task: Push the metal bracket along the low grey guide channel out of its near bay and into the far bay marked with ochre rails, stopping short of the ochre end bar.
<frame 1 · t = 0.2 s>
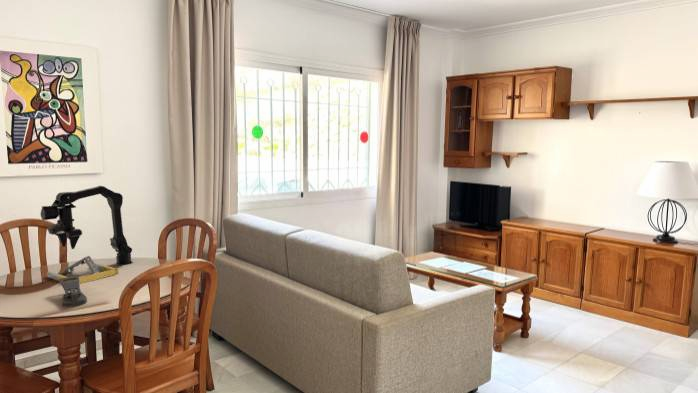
hand: (68, 247, 247), 14 cm above the table, tool pointing down, fingers open, 9 cm apart
bracket: (77, 275, 249), on the table
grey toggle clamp: (72, 298, 212), on the table
guide channel: (82, 275, 247), on the table
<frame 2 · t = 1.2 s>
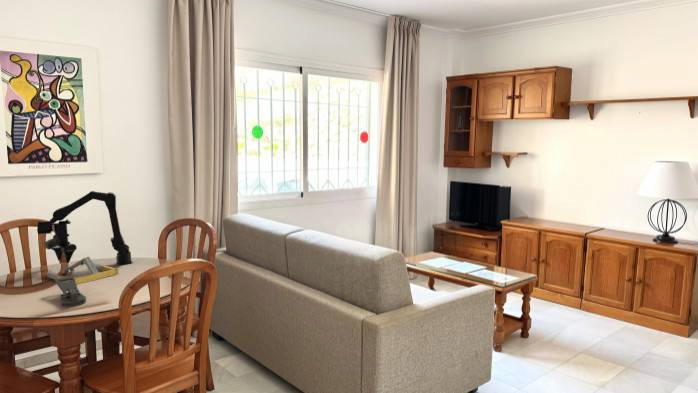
hand: (63, 261, 258), 4 cm above the table, tool pointing down, fingers open, 9 cm apart
bracket: (77, 276, 248), on the table
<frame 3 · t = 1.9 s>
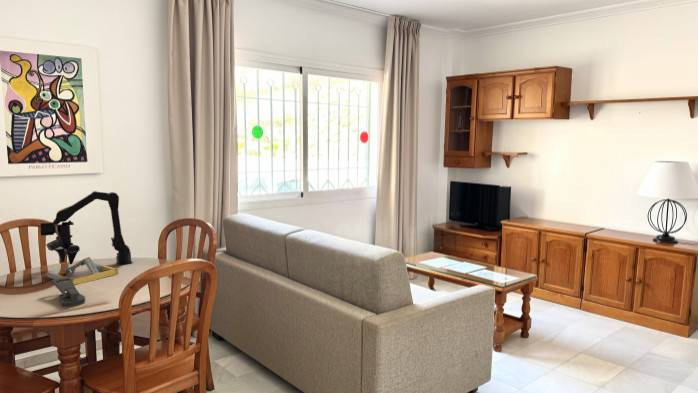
hand: (66, 263, 256), 4 cm above the table, tool pointing down, fingers open, 9 cm apart
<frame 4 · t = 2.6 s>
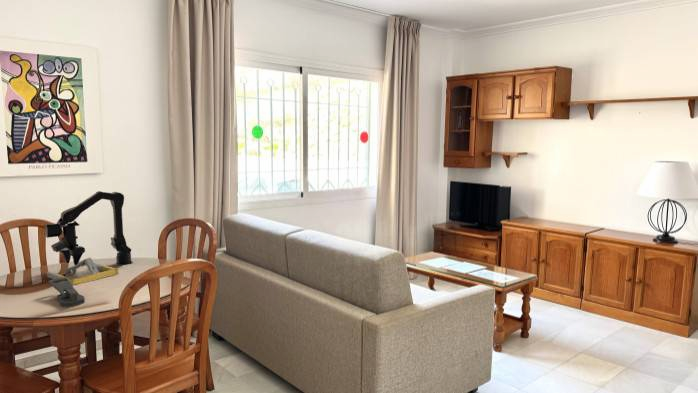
hand: (71, 264, 253), 4 cm above the table, tool pointing down, fingers open, 8 cm apart
bracket: (78, 277, 246), on the table, touching gripper
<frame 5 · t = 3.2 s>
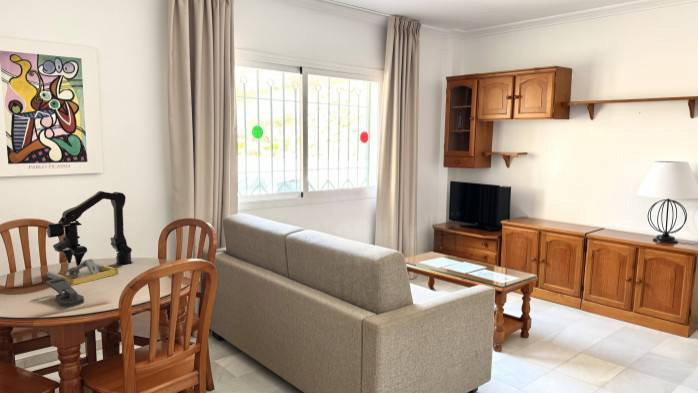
hand: (73, 264, 252), 4 cm above the table, tool pointing down, fingers open, 9 cm apart
bracket: (79, 278, 244), on the table
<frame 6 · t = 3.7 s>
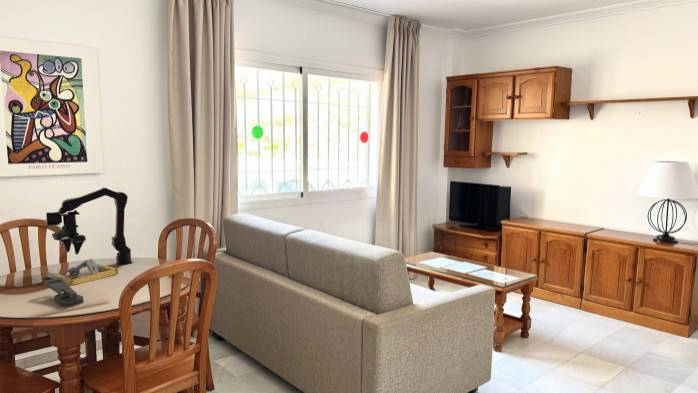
hand: (72, 253, 255), 9 cm above the table, tool pointing down, fingers open, 9 cm apart
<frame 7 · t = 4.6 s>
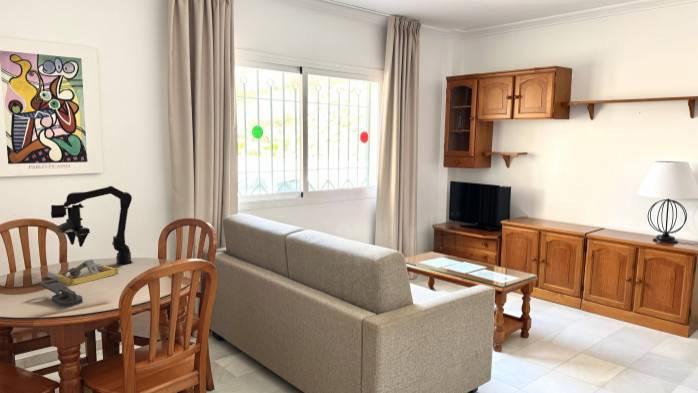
hand: (76, 245, 258), 12 cm above the table, tool pointing down, fingers open, 9 cm apart
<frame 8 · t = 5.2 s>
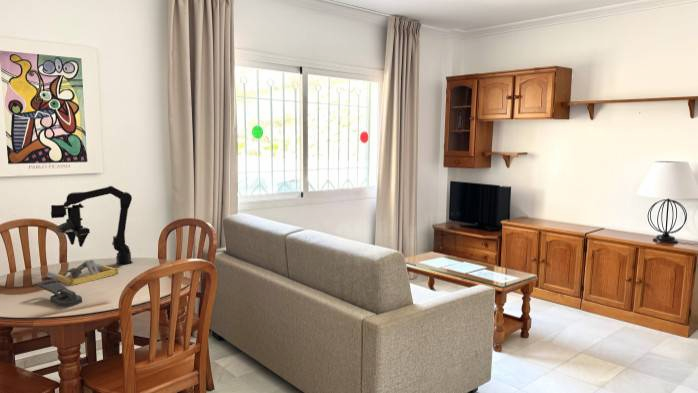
hand: (76, 245, 258), 12 cm above the table, tool pointing down, fingers open, 9 cm apart
at the end: bracket inside the target area (3.0 cm from its centre), on the table; bracket moved 8.8 cm from its start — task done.
